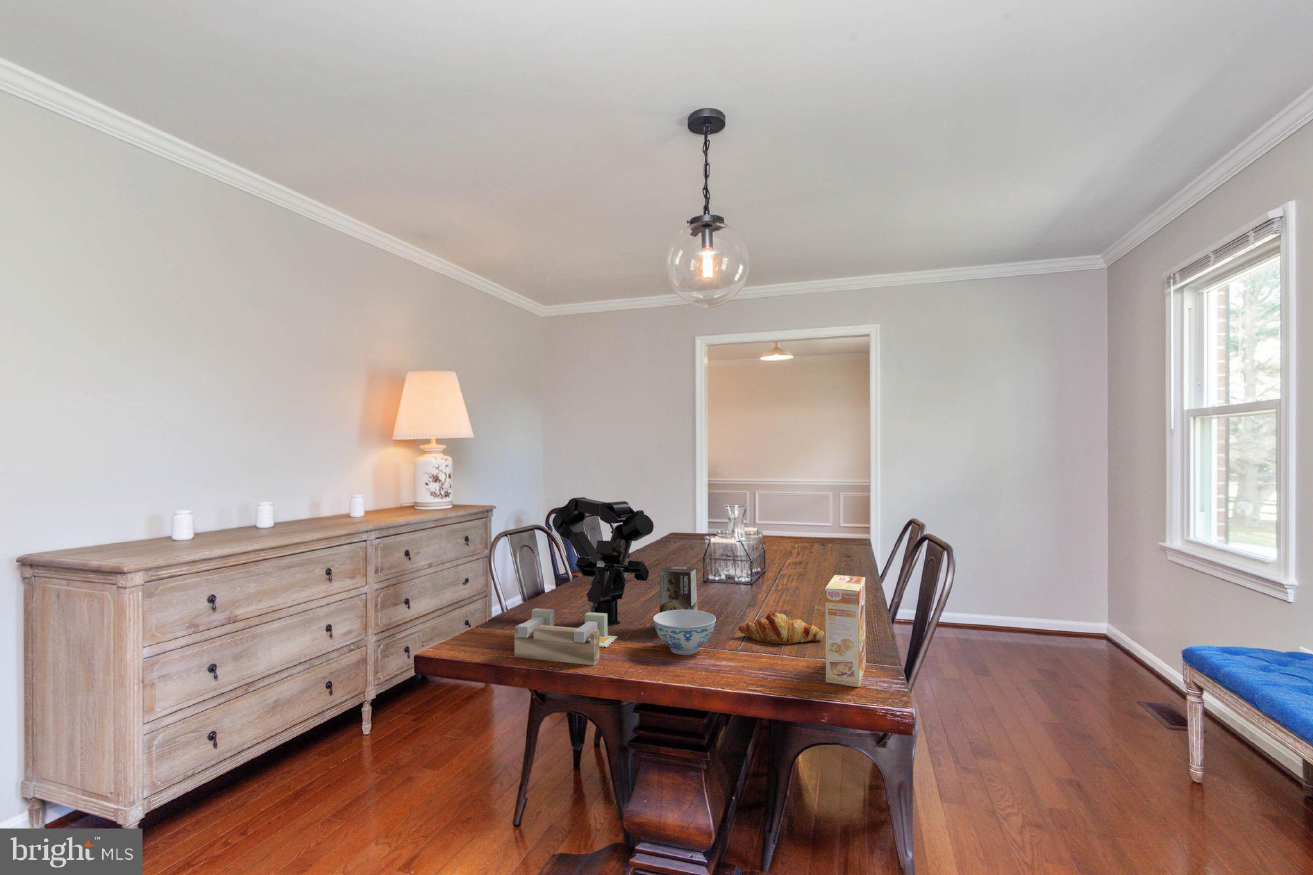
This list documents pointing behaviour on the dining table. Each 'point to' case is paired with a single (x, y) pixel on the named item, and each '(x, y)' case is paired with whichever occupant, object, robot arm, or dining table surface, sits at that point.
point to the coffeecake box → (845, 630)
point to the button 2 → (591, 626)
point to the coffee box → (678, 588)
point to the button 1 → (536, 621)
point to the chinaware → (684, 629)
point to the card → (606, 640)
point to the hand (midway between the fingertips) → (602, 597)
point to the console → (557, 645)
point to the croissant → (781, 630)
